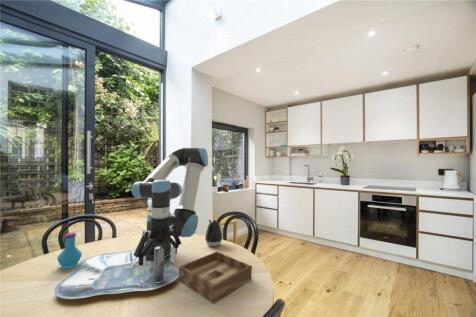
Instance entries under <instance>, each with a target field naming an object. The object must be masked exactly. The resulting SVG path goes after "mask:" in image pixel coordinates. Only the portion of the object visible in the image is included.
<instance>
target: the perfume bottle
mask: <svg viewBox="0 0 476 317" xmlns="http://www.w3.org/2000/svg"><path fill="white" fill-rule="evenodd" d="M76 236H77V233H76V232H68V233H66V234H65V235H64V237H65V247H64V249H63V250H62V251H61V253H59V255H57V261H58V263H59V265H60V269H62V270H63V269H64V270H65V269H71V268H74V267H76V266H78V265H79V261H80V259H81V258H82V255H83V253H82V251H81V250H79V249H78V247H77V246H76Z"/></svg>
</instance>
